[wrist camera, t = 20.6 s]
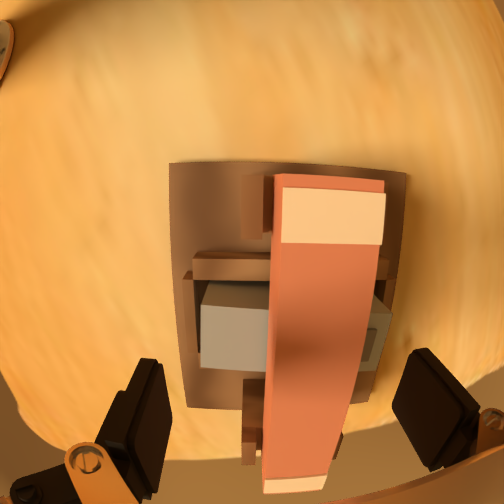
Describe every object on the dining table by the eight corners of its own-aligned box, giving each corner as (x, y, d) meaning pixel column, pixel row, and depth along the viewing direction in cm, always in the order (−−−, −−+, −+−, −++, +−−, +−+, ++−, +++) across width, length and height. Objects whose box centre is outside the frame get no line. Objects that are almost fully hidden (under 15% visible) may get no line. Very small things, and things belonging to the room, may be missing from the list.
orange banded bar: (261, 449, 20) (263, 496, 15) (272, 174, 15) (283, 173, 10) (311, 447, 20) (320, 492, 15) (348, 178, 15) (386, 180, 10)
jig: (189, 399, 27) (173, 466, 18) (173, 163, 22) (129, 157, 13) (364, 394, 27) (392, 454, 19) (399, 173, 22) (466, 175, 13)
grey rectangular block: (210, 327, 23) (200, 369, 18) (211, 274, 22) (200, 306, 17) (353, 334, 24) (377, 372, 18) (364, 284, 23) (394, 315, 17)
